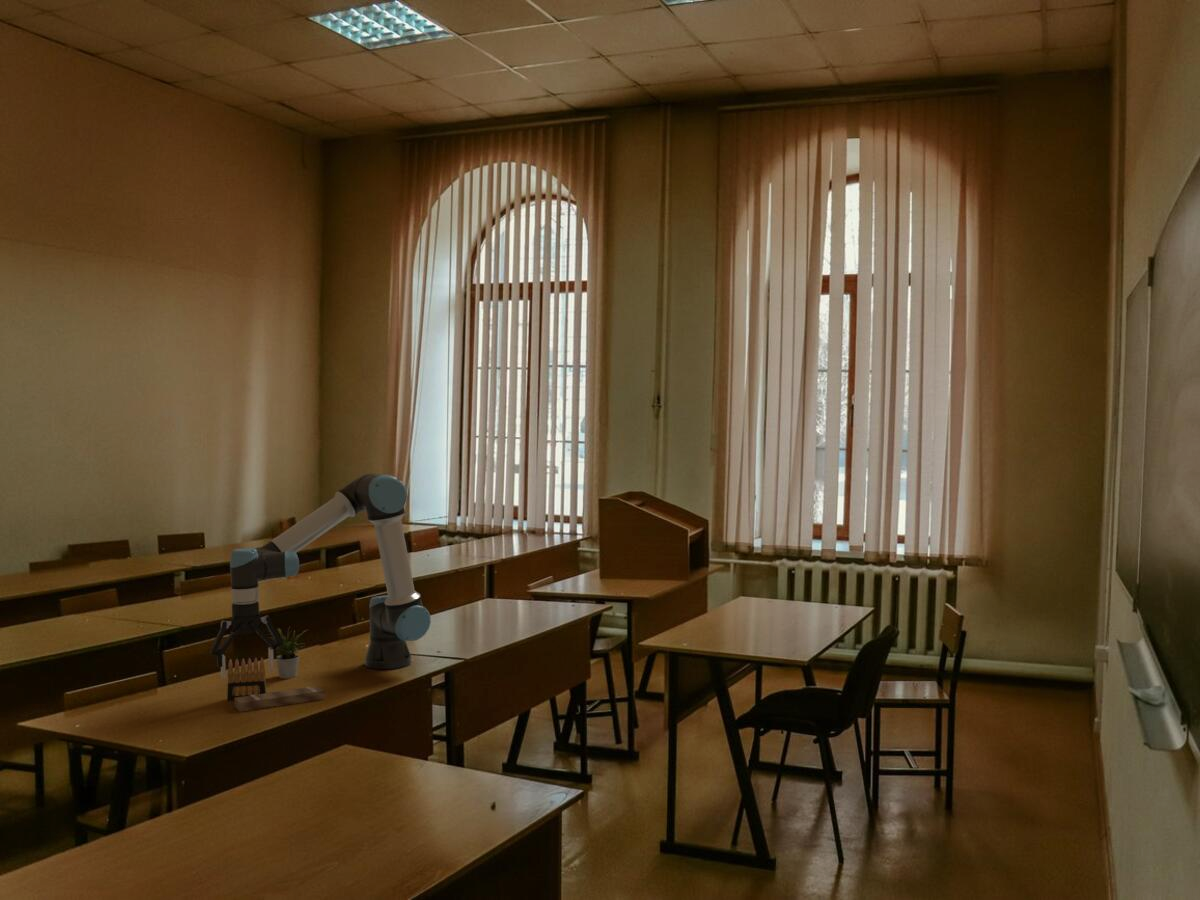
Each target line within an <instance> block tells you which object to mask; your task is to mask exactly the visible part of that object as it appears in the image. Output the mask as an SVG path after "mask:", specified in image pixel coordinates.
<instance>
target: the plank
mask: <svg viewBox="0 0 1200 900" xmlns="http://www.w3.org/2000/svg"><path fill="white" fill-rule="evenodd" d="M323 700H326V691H325V690H324V688H322V687H321V686H319V685H316V686H306V687H303V688H302V687H301V688H295V689H287V690H280V691H273V692H266V693H265V694H258V695H255V694H254V695H250V696H244V697H237V698H234V700H233V702H234V703H233V704H234V705H233V706H234V708H235V709H236V710H237V711H238V712H240V713H241V712H247V711H248V710H249V711H254V710H255V709H256V710H260V709H261V708H263V709H268V708H267V707H269V708H275V707H274V706H276V707H282V705H283V706H290V705H296V704H302V703H309V702H310V703H311V702H315V701H323Z"/></svg>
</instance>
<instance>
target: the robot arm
mask: <svg viewBox="0 0 1200 900" xmlns="http://www.w3.org/2000/svg"><path fill="white" fill-rule="evenodd" d="M407 500H408V490H407V487H406V485H405V484H404V483H403V482H402V481H401V480H400V479H399V478H398V477H396V476H392V475H390V474H382V473H381V474H376V473H366V474H362V475H360V476H359V477H356V478H355V479H354V480H352V481H351V482H349V483H347V484H346V485H345V486H343V487H342V488H340V489H339V490H337V491H336V492H335V493H334V497H333V498H331V499H330V500H329V501H328V502H325V503H324V504H322V505H321V506H319V507H318V508H317V509H316V510H314V511H313V512H311V513H309V514H308V515H307V516H305V517H304V518H302V519H301V520H299V521H298V522H296V523H295V524H294V525H293V524H292V526H291V527H289V528H288V529H286V530H285V531H283V532H282V533H280V534H279V535H277V536H276V537H274V538H273V539H272V540H270V541H268V542H267V543H265V544H264V545H262V546H259V547H255V548H254V547H253V548H252V547H249V548H248V547H247V548H236V549H233V550H232V551H231V552H230V557H229V568H230V584H231V585H230V586H231V587H230V588H231V589H230V590H231V595H230V596H231V602H232V604H231V620H221V621H220V625H219V626H220V628H219V631H217V635H216V637H215V639H214V641H213V643H212V645H211V647H210V650H209V653H210V654H211V655H212V656H215V657H216V666H217V667H218V668H220V678H222V679H223V680H224V679H225V680H226V679H227V672H226V671H227V669H226V667H227V665H226V656H225V655H224V654H225V652H227V649H228V648H229V647H230V645H231V644H232V643H233V642H234V641H235V640H236V638H237V637H238V636H239V635H243V636H244V635H247V634H249V635H250V634H251V635H252V634H253V633H255V632H256V633H257V634H258V636H259V637H261V639H263V640H264V642H266V643H267V644H268V645H269V647H267V648H268V649H267V650H268V652H267V654H268V670H269V672H271V673H272V672H274V671H275V668H274V667H275V664H274V663H275V660H276V658H277V657H278V655H277V654H278V652H277V651H278V650H277V648H278V647H279V646H280V647H282V645H283V641H282V638H281V636H280V634H278V631H277V630H276V628H275V627H274V625H273V623H272V618H271V616H269V615H268V614H266V615H264V616H262V617H261V616H260V602H259V601H258V600H259V599H260V597H259V596H260V595H259V581H263V580H269V579H270V580H272V579H281V578H286V579H287V578H288V577H294V576H296V575H297V574H298V572H299V570H300V560H299V557H298V554H297V553H298V552H299V551H301V550H302V549H303V548H305V547H307V546H308V545H309V544H311V543H312V542H314V541H315V540H316V539H318V538H320V537H321V536H323V535H324V534H325V533H327V532H328V531H329V530H331V529H333V528H334V527H336V526H337V525H338V524H339V523H341V522H342V521H344V520H345V519H347V518H348V517H349V518H353V517H355V516H357V515H358V514H360V513H362V512H364V511H365V512H366V515H367V521H369V522H370V523H372V524H373V526H374V530H375V531H374V532H375V536H376V541H377V545H378V551H379V556H380V563H381V567H382V572H383V576H384V581H385V582H384V583H385V587H386V593H387V594H386V595H379V596H373V597H371V598H370V600H369V606H368V609H369V644H368V648H367V651H366V654H365V657H364V666H365V667H366V668H368V669H374V670H375V669H376V670H390V669H391V670H392V669H400V668H404V667H407V666H410V665H411V664H412V655H411V652H410V649H409V646H408V643H407V641H408V642H415V641H417V640H420V639H422V638H423V637H425V635H426V634H427V632H428V630H429V629H430V627H431V622H432V620H431V614H430V612H429V610H428V609H427V608H426V607H425V606H423V601H422V596H421V593H419V592H418V591H416V590H415V586H414V581H413V580H414V579H413V574H412V570H411V565H410V559H409V554H408V550H407V549H408V548H407V543H406V537H405V533H404V528H403V522H402V519H403V517H404V516H405V513H406V512H405V504H406V503H407ZM261 623H263V624H265V625H266V627H267V630H269V631H268V632H269V633H270V634H272V635H271V637H272V638H273V639H274V640H275V641H276V642H275V641H274V640H273V639H271V638H269V636H267V634H266V635H265V632H264V631H262V630H261V629H260V627H259V626H260V624H261ZM230 626H231V627H232V628H233V629H232V630H231V631H230V634H229V635H228V636H227V638H226V639H225V640H224V641H223V643H222V640H223V639H224V636H225V635H226V631H227V630H228V629H229V627H230ZM221 643H222V644H221Z"/></svg>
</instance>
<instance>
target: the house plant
mask: <svg viewBox="0 0 1200 900" xmlns="http://www.w3.org/2000/svg"><path fill="white" fill-rule="evenodd" d="M290 628H291V626H289V628H288V629H287V632H288V633H287V634H286V635H287V636H284V635H283V631H282V629H280V628H279V627H278V628H277V633H279V637H280V639H281V640H282V642H283V645H282V646H279V647H278V648H277V654H279V656H278V655H277V658H276V659H275V660H276V666H277V671H278V677H279V678H280V679H286V680H287V679H293V678H296V677H297V674H298V668H299V661H300V655H298V652H299V650H300V649H301V648H303V647H305V644H306V643H305V642H304V643H301V642H300V643H297V642H298V640H299V639H300V638H301V637H302V635H303V634H304V633H306V632H307V631H309V629H306V630H303V631H302V632H301V633H299V634H296V630H294V631H293V629H294V628H293V629H292V630H290ZM289 630H290V631H289ZM266 631H268V632H270V631H269V629H267V630H266ZM292 631H293V633H292V636H291V639H290V641H289V637H290V634H291V632H292ZM264 634H265V633H264ZM265 635H266V636H267V634H265ZM269 635H270V636H271V637H269V636H268V638H269V639H270V640H272V641H273V642H274V643H275V642H276V641H275V639H274V637H272V634H271V633H269ZM295 635H296V636H295ZM301 645H302V646H301Z"/></svg>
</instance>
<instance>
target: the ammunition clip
mask: <svg viewBox="0 0 1200 900" xmlns="http://www.w3.org/2000/svg"><path fill="white" fill-rule="evenodd" d="M245 661H246V660H245V658H242V659H241V664H240V663H239V659H238V658H236V659H235V661H234V662H235V663H234V667H233V661H232V658H229V660H228V665H227V666H228V669H227V692H226V693H227V695H226V697H227V698H226V701H229V700H231V701H234V698H237V697H244V696H250V695H254V694H255V695H258V694H265V693H267V689H266V688H267V687H266V669H265V660H264V658H263V656H261V657H260V661H259V662H258V658H257V657H254V661H253V662H252V659H251V657H248V659H247V667H246V662H245ZM252 663H253V665H252ZM240 666H241V667H240ZM233 668H234V669H233Z"/></svg>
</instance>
